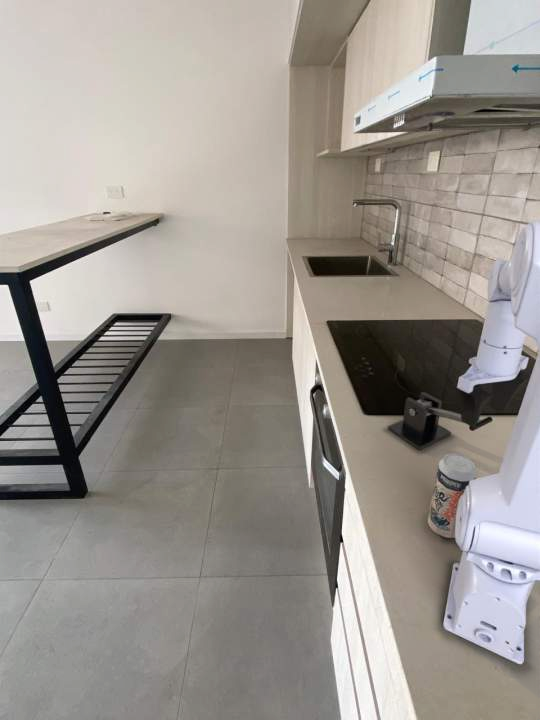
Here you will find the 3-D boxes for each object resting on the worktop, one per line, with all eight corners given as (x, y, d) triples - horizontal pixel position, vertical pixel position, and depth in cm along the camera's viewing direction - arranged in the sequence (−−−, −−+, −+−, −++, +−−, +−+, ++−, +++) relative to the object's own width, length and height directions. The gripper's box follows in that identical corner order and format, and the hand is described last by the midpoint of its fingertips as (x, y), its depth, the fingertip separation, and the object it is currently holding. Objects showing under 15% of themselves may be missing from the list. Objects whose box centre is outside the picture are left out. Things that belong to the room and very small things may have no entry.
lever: (493, 426, 67) (492, 413, 67) (474, 435, 65) (473, 422, 64) (426, 408, 79) (425, 397, 79) (408, 415, 77) (407, 404, 77)
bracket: (450, 436, 78) (457, 402, 75) (418, 451, 74) (424, 416, 71) (418, 417, 84) (423, 385, 81) (387, 430, 80) (391, 397, 77)
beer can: (420, 520, 60) (431, 457, 55) (444, 510, 61) (457, 448, 56) (444, 545, 56) (459, 479, 50) (469, 533, 57) (486, 468, 52)
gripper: (505, 323, 66) (488, 393, 72) (446, 343, 59) (433, 417, 66) (550, 337, 60) (527, 411, 66) (490, 360, 54) (471, 440, 60)
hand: (483, 416), depth 65 cm, fingers open, 7 cm apart
